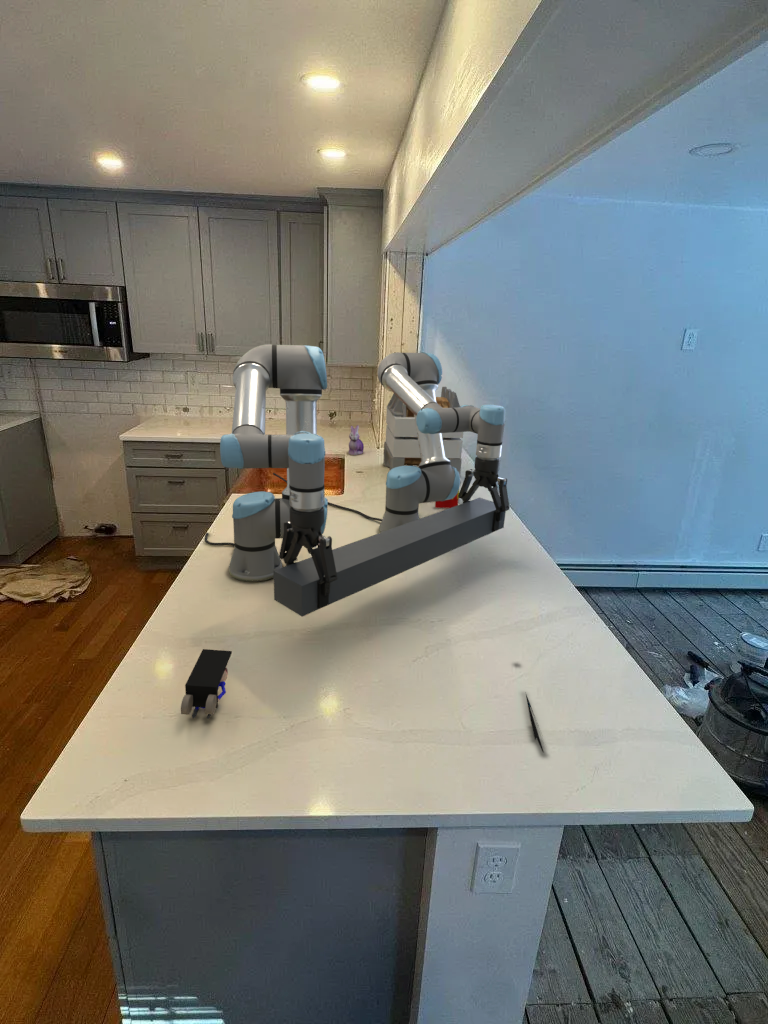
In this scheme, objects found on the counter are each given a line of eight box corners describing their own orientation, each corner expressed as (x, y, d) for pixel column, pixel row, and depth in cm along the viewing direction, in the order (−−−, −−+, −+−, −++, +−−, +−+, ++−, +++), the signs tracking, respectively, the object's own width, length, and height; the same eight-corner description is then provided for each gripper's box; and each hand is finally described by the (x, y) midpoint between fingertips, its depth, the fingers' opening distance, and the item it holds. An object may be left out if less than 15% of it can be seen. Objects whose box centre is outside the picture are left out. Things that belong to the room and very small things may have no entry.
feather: (517, 669, 129) (522, 662, 128) (543, 757, 102) (550, 750, 102) (511, 665, 129) (516, 659, 128) (535, 752, 102) (542, 745, 101)
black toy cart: (217, 731, 106) (235, 675, 120) (214, 701, 103) (232, 647, 116) (181, 730, 106) (203, 674, 119) (176, 700, 103) (199, 646, 116)
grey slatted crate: (382, 463, 289) (386, 382, 275) (445, 464, 293) (451, 384, 279) (390, 482, 257) (394, 392, 243) (460, 483, 261) (468, 394, 247)
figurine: (351, 455, 300) (352, 427, 295) (343, 451, 309) (344, 424, 304) (367, 454, 304) (368, 426, 299) (359, 450, 313) (360, 423, 308)
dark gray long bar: (477, 518, 186) (479, 497, 184) (503, 527, 180) (506, 505, 177) (274, 599, 130) (273, 570, 127) (302, 616, 123) (301, 586, 121)
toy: (452, 466, 252) (464, 476, 223) (451, 496, 255) (462, 509, 226) (425, 465, 252) (433, 475, 222) (424, 495, 254) (431, 508, 225)
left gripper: (261, 496, 127) (264, 585, 135) (328, 525, 113) (327, 622, 120) (288, 490, 132) (289, 575, 140) (355, 516, 118) (353, 610, 126)
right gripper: (450, 451, 176) (444, 518, 184) (514, 467, 162) (505, 539, 169) (464, 448, 181) (458, 513, 189) (527, 463, 167) (518, 532, 174)
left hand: (307, 597), depth 130 cm, fingers closed on dark gray long bar, 10 cm apart
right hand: (480, 525), depth 179 cm, fingers closed on dark gray long bar, 10 cm apart
